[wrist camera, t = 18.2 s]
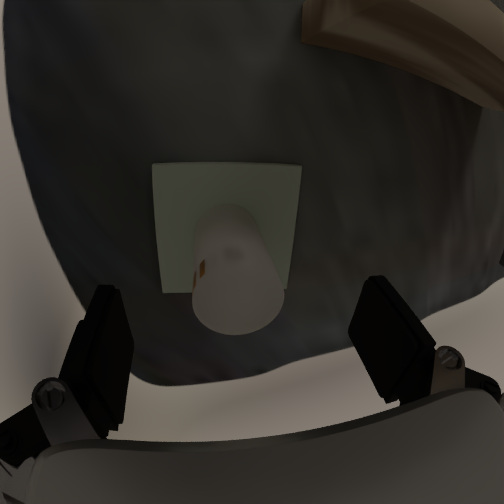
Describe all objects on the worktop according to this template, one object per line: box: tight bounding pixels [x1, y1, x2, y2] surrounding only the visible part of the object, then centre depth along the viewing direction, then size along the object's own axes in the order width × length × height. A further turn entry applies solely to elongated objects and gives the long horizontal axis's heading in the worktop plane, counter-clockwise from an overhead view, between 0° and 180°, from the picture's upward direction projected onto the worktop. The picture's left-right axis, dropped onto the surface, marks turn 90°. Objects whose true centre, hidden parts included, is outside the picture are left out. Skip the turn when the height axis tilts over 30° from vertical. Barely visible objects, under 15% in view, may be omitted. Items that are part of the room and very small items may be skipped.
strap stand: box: [301, 0, 504, 112], centre depth 10 cm, size 3×18×10 cm, turn 87°
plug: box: [192, 204, 284, 335], centre depth 15 cm, size 4×4×7 cm
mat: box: [152, 162, 302, 293], centre depth 19 cm, size 9×9×1 cm
